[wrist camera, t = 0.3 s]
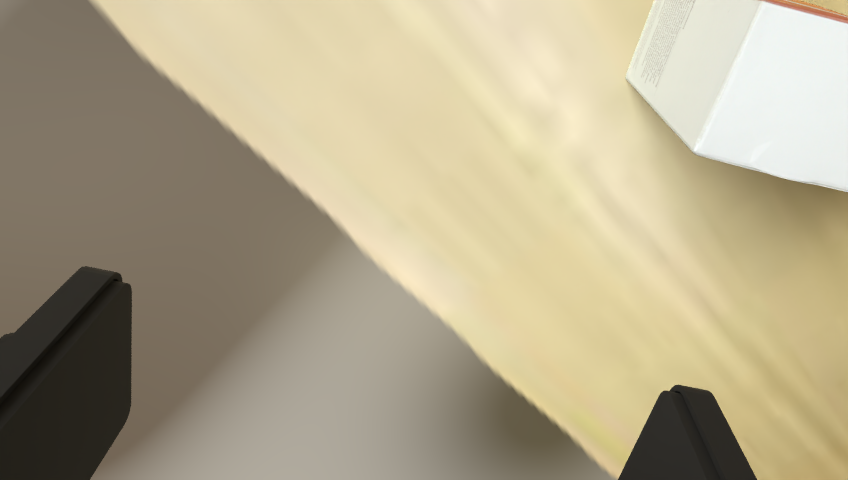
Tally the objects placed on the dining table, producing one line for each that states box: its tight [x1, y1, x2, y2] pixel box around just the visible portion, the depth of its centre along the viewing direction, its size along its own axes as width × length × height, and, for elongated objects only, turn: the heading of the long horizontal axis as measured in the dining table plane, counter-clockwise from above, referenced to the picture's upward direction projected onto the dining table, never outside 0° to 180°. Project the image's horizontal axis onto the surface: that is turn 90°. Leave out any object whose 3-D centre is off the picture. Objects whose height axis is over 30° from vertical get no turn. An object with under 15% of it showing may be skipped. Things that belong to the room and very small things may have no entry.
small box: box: [625, 0, 848, 192], centre depth 31 cm, size 8×6×13 cm
